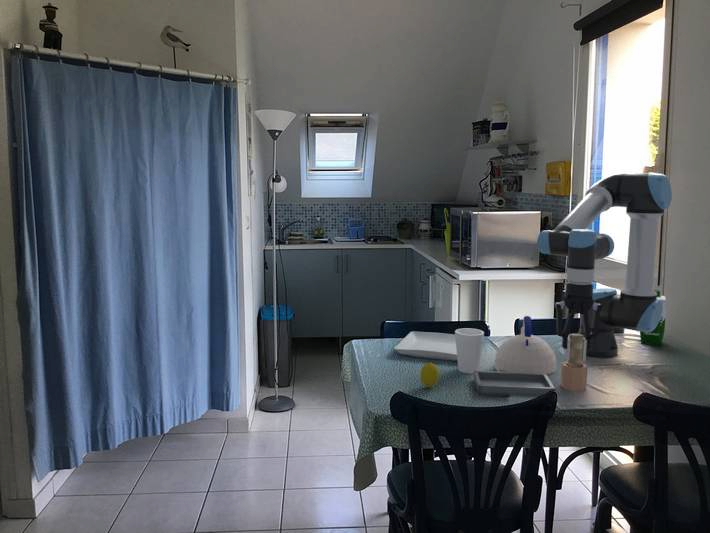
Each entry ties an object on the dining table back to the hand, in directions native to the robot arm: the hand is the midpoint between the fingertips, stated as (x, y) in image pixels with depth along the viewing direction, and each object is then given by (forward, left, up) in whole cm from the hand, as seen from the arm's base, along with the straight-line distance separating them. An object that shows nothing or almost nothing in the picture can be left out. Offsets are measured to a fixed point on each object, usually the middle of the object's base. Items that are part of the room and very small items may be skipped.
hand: (575, 359), depth 191 cm
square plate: (+39, -38, -10) cm, 55 cm away
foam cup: (+30, -16, -10) cm, 35 cm away
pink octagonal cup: (0, 0, -10) cm, 10 cm away
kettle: (+11, -20, -10) cm, 25 cm away
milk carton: (-43, -60, -10) cm, 74 cm away
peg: (0, 0, -9) cm, 9 cm away
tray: (+18, +1, -10) cm, 20 cm away
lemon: (+43, +3, -10) cm, 44 cm away
